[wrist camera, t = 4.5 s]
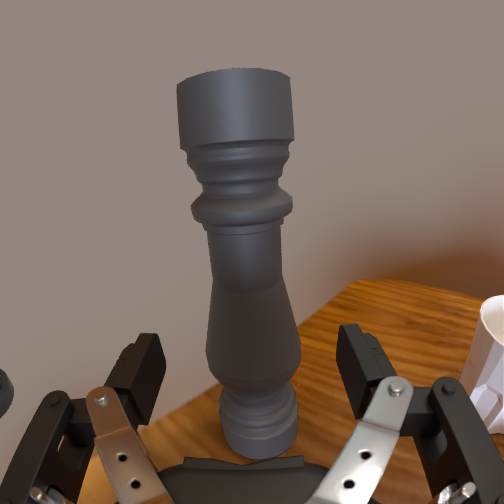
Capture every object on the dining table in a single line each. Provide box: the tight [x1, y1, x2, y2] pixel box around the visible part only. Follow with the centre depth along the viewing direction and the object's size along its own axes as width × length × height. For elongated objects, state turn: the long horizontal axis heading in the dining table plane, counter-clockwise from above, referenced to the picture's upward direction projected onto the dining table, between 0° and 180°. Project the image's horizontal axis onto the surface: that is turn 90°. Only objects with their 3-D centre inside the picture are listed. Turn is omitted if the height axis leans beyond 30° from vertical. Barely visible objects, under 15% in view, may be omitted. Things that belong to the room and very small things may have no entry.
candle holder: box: [177, 68, 301, 460], centre depth 17 cm, size 6×6×25 cm
